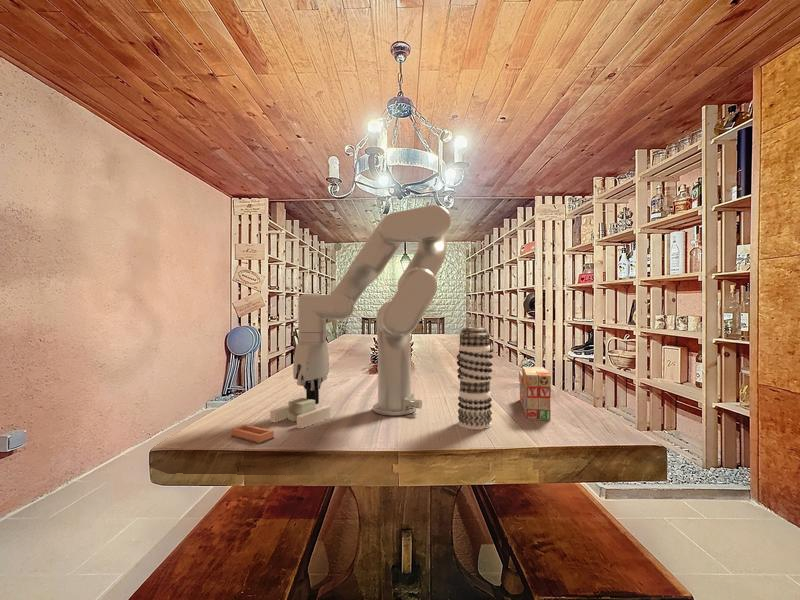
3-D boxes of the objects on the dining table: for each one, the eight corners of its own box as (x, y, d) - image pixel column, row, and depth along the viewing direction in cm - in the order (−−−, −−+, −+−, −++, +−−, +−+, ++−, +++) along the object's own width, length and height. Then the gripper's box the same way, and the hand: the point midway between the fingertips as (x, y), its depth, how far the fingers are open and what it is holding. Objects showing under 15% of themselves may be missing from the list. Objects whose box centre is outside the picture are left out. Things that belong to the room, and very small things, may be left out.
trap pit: (273, 438, 99) (273, 431, 98) (260, 443, 95) (259, 436, 95) (245, 431, 104) (245, 424, 104) (231, 436, 100) (231, 428, 100)
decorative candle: (499, 428, 104) (498, 328, 104) (463, 431, 103) (462, 329, 102) (485, 418, 113) (485, 325, 113) (452, 420, 112) (452, 326, 111)
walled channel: (330, 417, 115) (330, 406, 115) (301, 428, 105) (301, 417, 105) (300, 411, 121) (300, 401, 121) (270, 422, 111) (270, 410, 111)
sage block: (315, 418, 114) (315, 400, 114) (302, 423, 110) (301, 404, 110) (302, 415, 117) (301, 397, 117) (288, 420, 113) (288, 401, 113)
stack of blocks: (519, 400, 133) (519, 361, 133) (539, 400, 132) (539, 361, 131) (526, 420, 112) (526, 374, 112) (551, 421, 111) (551, 374, 110)
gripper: (320, 335, 125) (320, 396, 126) (282, 339, 113) (282, 408, 113) (340, 336, 121) (340, 399, 122) (302, 341, 109) (302, 412, 109)
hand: (312, 403), depth 117 cm, fingers closed
